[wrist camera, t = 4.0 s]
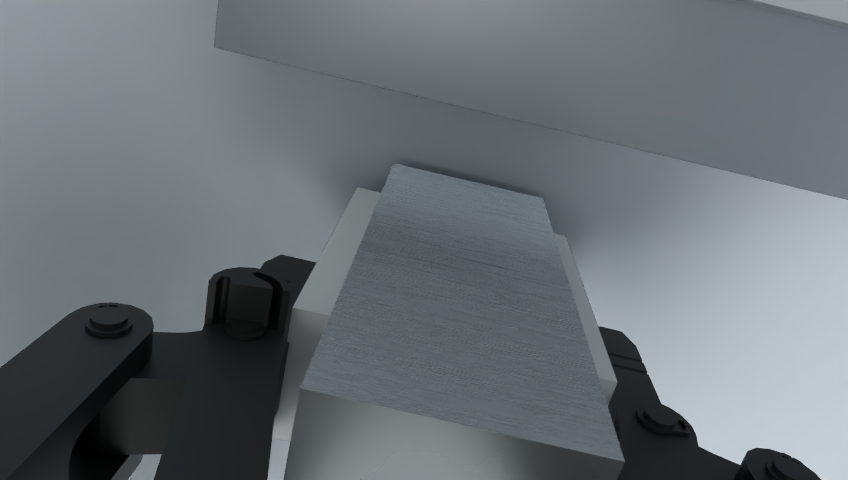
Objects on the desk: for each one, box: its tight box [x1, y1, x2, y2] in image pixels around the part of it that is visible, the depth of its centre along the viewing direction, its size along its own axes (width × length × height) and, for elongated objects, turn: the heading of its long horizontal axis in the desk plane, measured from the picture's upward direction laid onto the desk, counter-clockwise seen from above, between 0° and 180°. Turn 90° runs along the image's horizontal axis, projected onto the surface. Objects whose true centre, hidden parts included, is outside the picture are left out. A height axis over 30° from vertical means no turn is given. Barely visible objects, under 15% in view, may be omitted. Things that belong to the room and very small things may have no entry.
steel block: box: [284, 163, 625, 480], centre depth 13 cm, size 4×4×10 cm
